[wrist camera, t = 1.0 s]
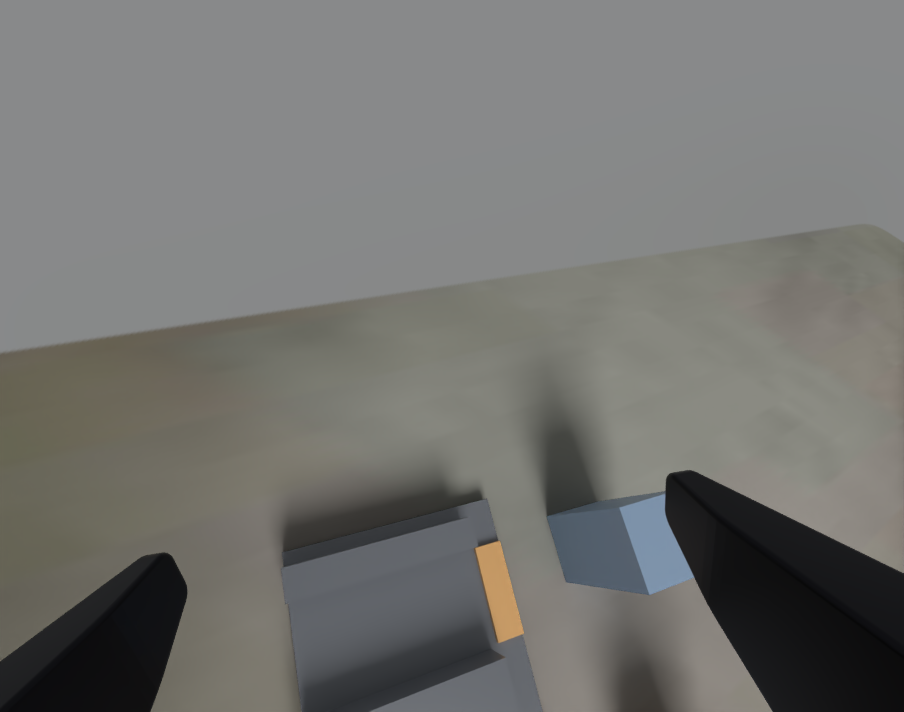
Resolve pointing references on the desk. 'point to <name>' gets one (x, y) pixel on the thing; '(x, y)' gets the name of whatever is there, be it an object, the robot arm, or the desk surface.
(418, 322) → the desk surface
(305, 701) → the grey slotted base
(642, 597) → the desk surface
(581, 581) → the blue plug
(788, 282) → the desk surface
